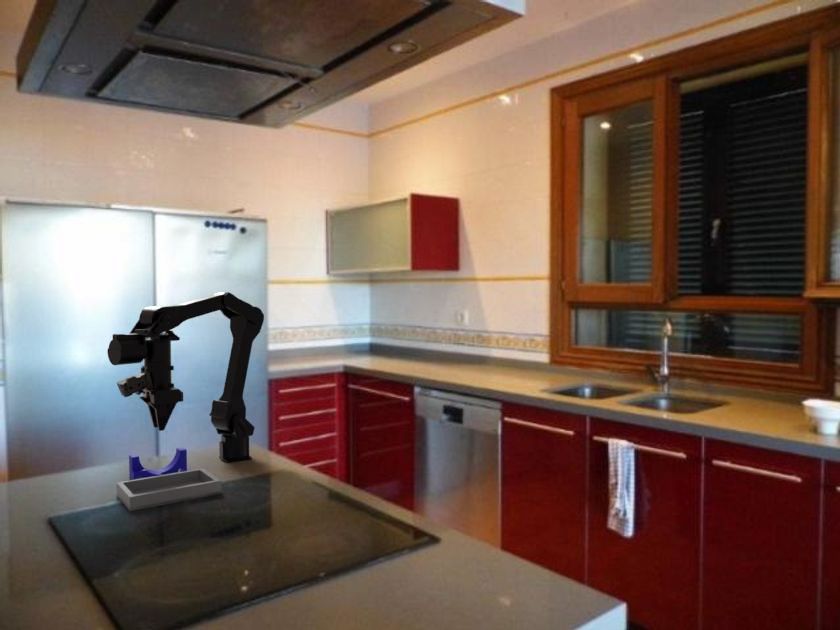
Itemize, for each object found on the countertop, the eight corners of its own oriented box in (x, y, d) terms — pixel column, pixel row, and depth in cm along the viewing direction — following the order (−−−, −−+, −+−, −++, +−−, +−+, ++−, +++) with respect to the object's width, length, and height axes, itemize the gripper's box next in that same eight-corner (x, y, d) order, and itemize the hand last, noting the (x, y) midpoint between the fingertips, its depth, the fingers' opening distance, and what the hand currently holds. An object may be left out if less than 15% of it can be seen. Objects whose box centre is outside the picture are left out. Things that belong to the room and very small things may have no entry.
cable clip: (134, 485, 144) (133, 458, 144) (129, 480, 148) (128, 454, 148) (188, 476, 151) (188, 450, 151) (183, 471, 155) (182, 447, 155)
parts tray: (203, 481, 146) (203, 468, 146) (221, 494, 137) (221, 480, 137) (116, 496, 136) (116, 482, 136) (129, 512, 126) (129, 497, 126)
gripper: (111, 360, 151) (112, 426, 152) (129, 367, 136) (130, 441, 137) (161, 357, 158) (162, 420, 158) (183, 364, 143) (184, 434, 143)
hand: (158, 428), depth 149 cm, fingers open, 4 cm apart
